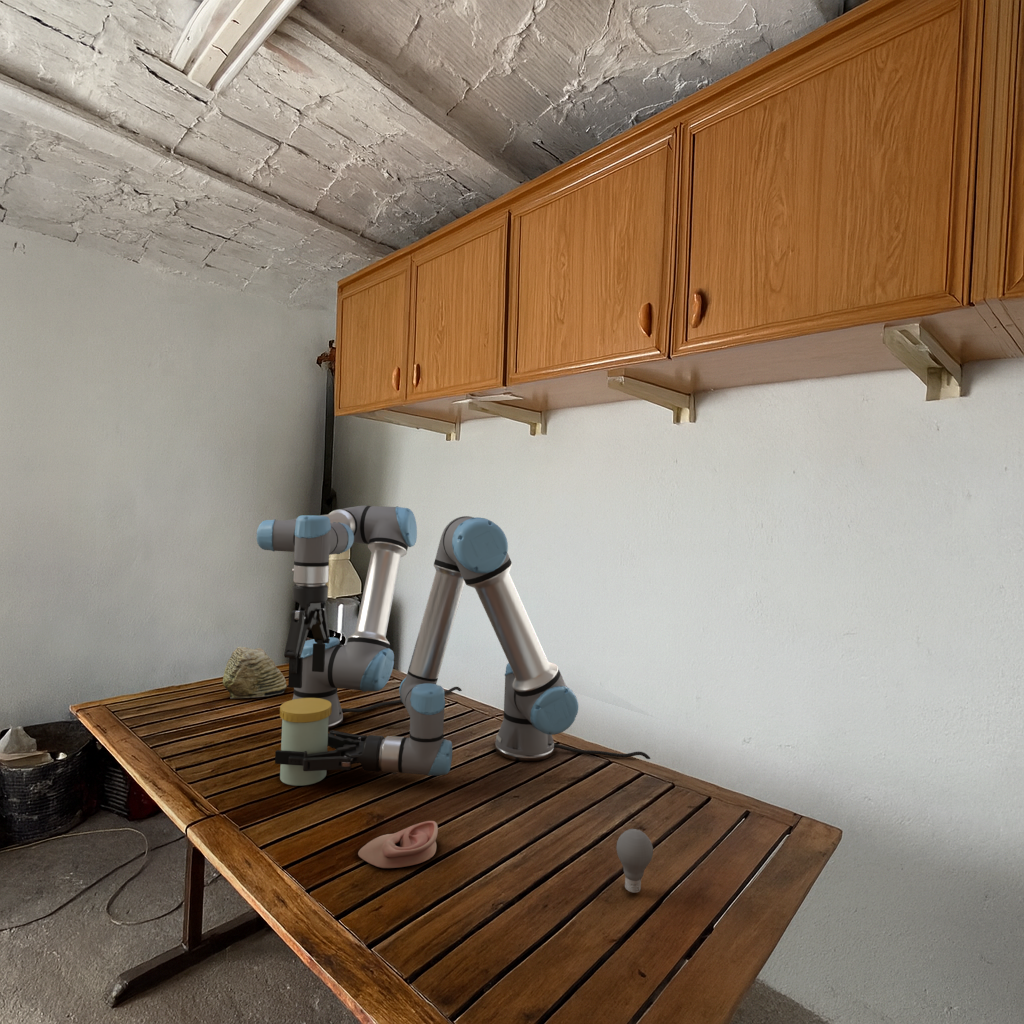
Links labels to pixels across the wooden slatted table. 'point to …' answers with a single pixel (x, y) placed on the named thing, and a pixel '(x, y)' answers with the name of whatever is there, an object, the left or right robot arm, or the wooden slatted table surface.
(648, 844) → the light bulb
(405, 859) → the anatomical model
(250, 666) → the fossil
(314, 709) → the lid
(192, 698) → the wooden slatted table surface
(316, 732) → the jar
